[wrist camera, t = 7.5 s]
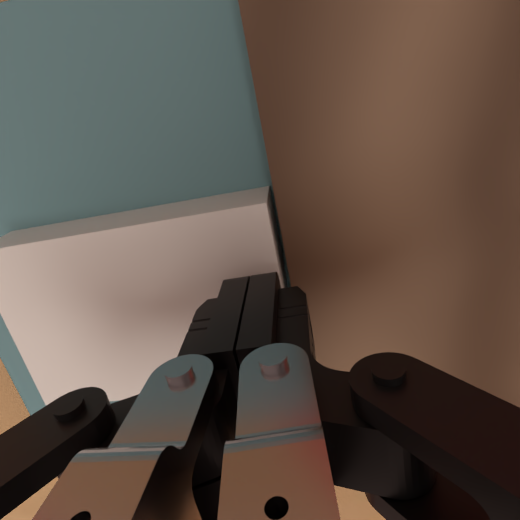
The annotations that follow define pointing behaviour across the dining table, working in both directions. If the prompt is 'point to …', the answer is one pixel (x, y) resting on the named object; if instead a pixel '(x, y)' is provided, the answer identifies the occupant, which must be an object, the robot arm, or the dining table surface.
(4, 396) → the dining table surface
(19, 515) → the dining table surface
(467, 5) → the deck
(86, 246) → the tile
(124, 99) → the mat
